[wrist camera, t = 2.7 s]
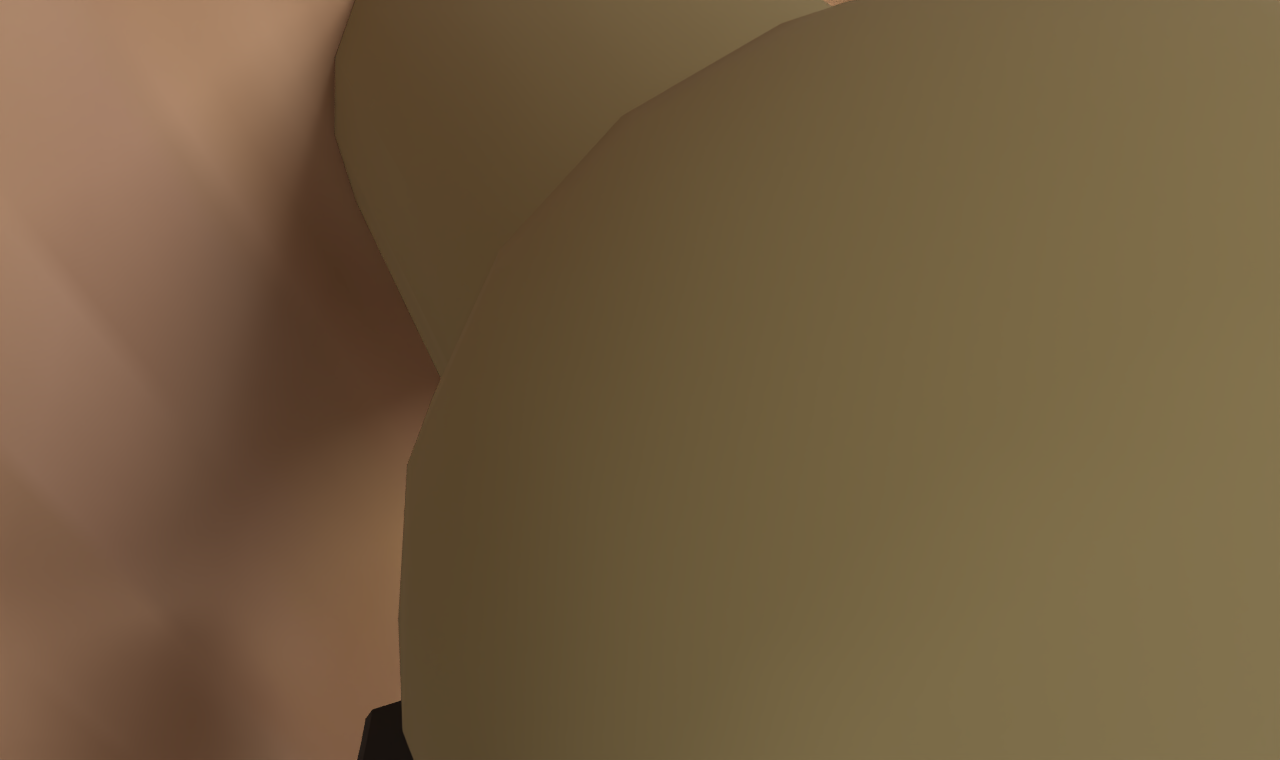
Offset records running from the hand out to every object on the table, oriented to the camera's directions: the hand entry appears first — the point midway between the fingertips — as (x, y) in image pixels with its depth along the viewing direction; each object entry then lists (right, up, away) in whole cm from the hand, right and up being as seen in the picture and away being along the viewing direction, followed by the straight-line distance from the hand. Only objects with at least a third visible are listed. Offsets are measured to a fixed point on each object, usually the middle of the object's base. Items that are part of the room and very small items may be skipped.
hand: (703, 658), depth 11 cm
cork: (-2, +7, +1) cm, 8 cm away
